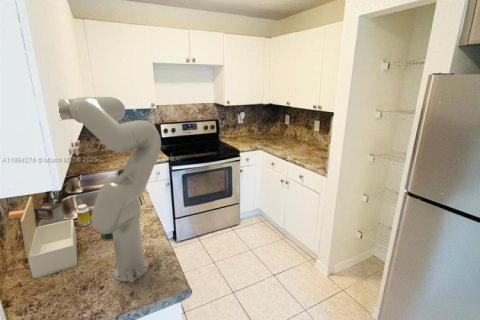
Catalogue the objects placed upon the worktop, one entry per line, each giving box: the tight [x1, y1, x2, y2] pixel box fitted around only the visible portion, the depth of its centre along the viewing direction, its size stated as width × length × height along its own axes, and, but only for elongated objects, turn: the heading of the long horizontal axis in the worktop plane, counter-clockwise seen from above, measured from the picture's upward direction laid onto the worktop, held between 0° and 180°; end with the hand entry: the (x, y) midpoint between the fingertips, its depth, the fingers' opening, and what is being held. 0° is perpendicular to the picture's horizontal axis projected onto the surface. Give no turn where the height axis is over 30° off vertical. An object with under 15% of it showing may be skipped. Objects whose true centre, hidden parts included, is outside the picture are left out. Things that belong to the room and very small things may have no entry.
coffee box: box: [33, 202, 66, 227], centre depth 121 cm, size 9×6×16 cm
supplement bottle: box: [76, 203, 92, 227], centre depth 133 cm, size 6×6×10 cm
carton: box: [27, 219, 78, 280], centre depth 108 cm, size 24×14×10 cm, turn 32°
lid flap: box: [8, 196, 37, 258], centre depth 100 cm, size 24×14×6 cm
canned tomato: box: [100, 233, 113, 241], centre depth 122 cm, size 8×8×11 cm
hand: (47, 179), depth 99 cm, fingers open, 9 cm apart
